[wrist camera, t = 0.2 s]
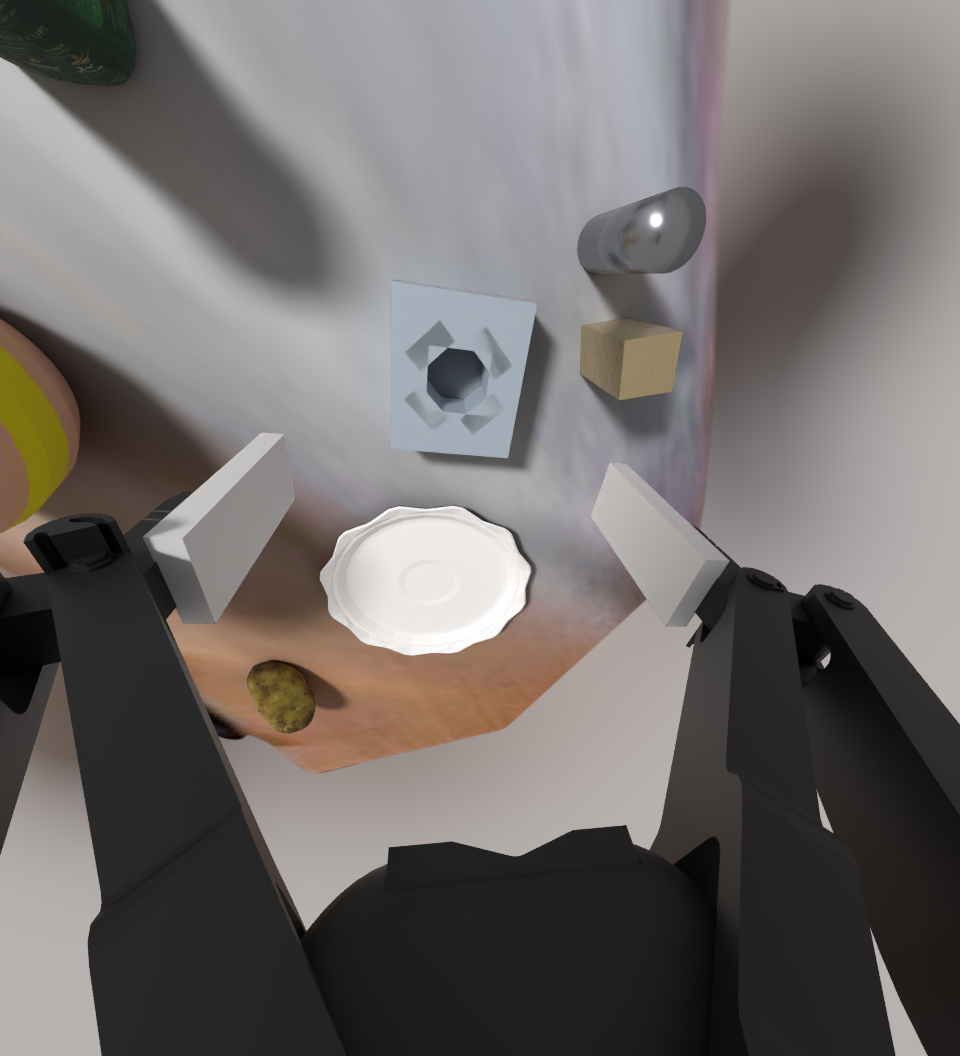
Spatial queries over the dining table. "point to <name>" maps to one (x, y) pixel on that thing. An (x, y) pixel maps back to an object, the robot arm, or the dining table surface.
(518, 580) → the plate
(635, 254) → the round bit
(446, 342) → the bore block
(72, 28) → the coffee jar
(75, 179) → the dining table surface
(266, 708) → the potato
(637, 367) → the square bit
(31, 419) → the vase
